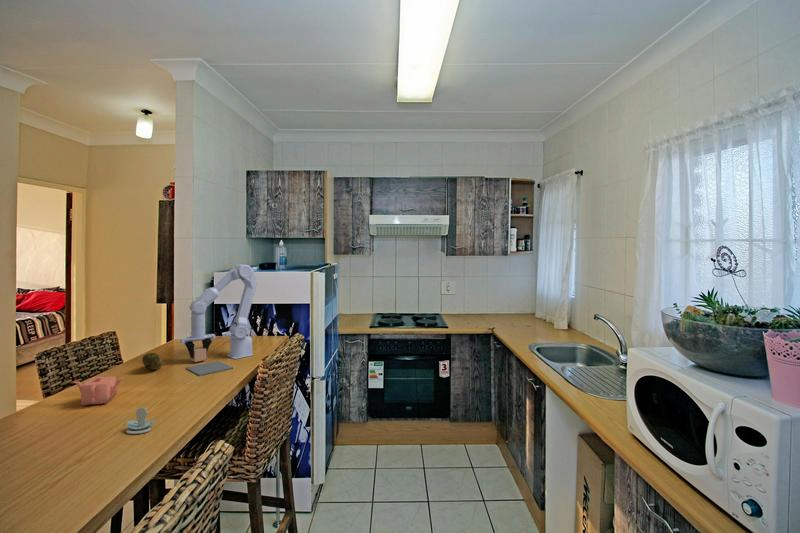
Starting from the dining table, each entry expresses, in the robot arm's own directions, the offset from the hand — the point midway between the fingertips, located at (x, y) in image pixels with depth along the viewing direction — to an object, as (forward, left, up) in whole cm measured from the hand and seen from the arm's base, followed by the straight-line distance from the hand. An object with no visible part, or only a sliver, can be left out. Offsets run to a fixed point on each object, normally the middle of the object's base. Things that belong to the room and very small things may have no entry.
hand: (198, 356), depth 185 cm
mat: (+1, +14, -2) cm, 14 cm away
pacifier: (+40, +58, -3) cm, 70 cm away
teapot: (+42, +24, -3) cm, 49 cm away
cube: (0, 0, -1) cm, 1 cm away
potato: (+18, -1, -3) cm, 18 cm away
